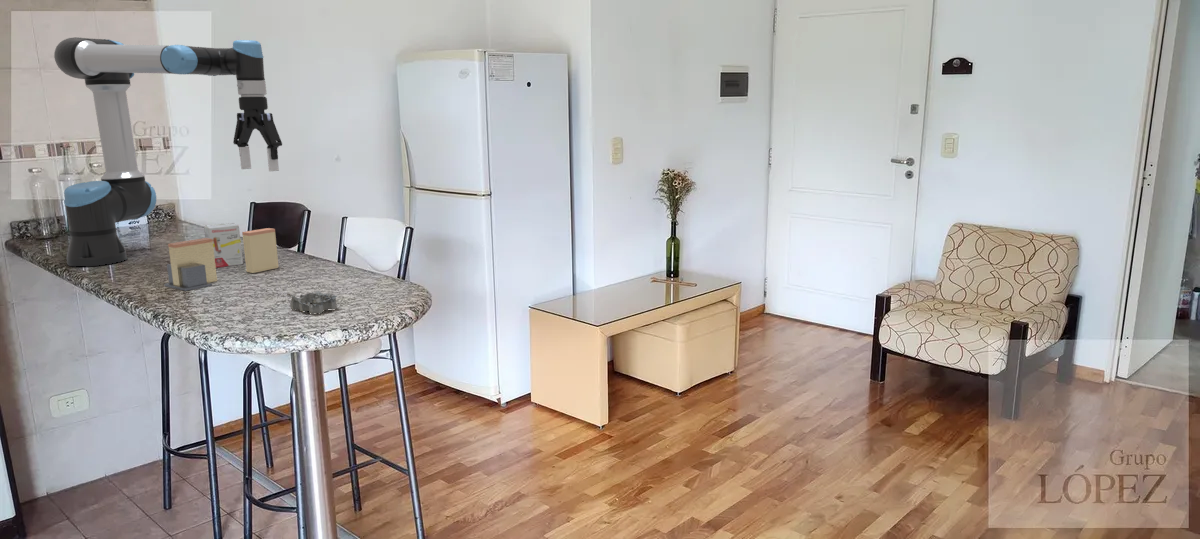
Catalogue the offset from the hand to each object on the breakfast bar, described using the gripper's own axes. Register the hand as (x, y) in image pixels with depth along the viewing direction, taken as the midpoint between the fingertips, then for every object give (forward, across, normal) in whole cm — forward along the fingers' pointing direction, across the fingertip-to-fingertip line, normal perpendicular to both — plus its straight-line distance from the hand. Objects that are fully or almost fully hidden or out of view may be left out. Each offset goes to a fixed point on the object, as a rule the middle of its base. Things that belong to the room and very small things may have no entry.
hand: (259, 170), depth 231 cm
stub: (+27, +13, -11) cm, 32 cm away
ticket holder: (+27, +13, -30) cm, 42 cm away
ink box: (+27, -3, -12) cm, 30 cm away
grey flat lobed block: (+27, +60, -29) cm, 72 cm away
